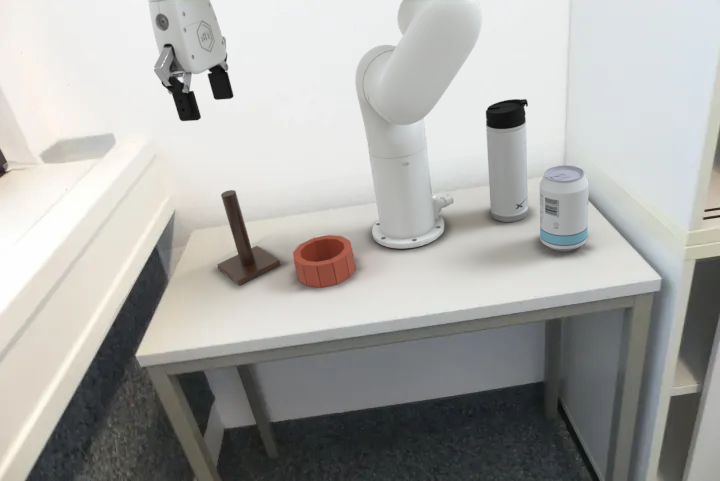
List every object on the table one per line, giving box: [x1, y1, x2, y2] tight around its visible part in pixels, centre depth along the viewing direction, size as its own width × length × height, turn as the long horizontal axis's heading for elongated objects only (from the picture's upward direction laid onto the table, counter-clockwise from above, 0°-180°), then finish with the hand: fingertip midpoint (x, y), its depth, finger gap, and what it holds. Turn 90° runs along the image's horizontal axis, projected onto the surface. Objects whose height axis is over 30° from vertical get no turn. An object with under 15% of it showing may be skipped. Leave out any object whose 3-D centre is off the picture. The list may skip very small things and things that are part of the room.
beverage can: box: [539, 164, 590, 252], centre depth 91 cm, size 7×7×12 cm
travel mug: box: [485, 98, 529, 223], centre depth 100 cm, size 6×7×20 cm
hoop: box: [292, 234, 357, 288], centre depth 96 cm, size 9×9×4 cm
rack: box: [217, 189, 282, 286], centre depth 99 cm, size 8×8×14 cm
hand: (208, 108), depth 88 cm, fingers open, 9 cm apart
